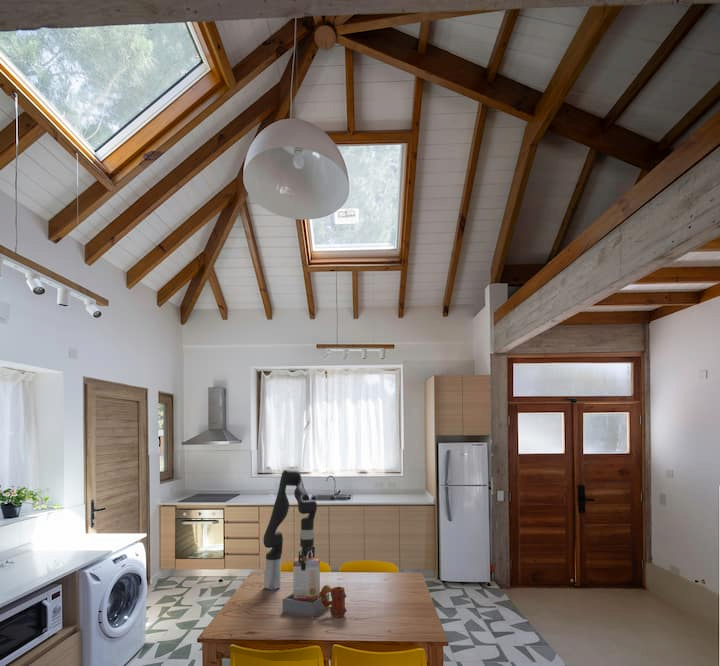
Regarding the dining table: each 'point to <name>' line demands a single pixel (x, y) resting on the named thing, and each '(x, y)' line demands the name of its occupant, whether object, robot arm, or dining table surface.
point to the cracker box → (306, 580)
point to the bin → (303, 606)
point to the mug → (334, 600)
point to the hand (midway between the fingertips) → (306, 568)
